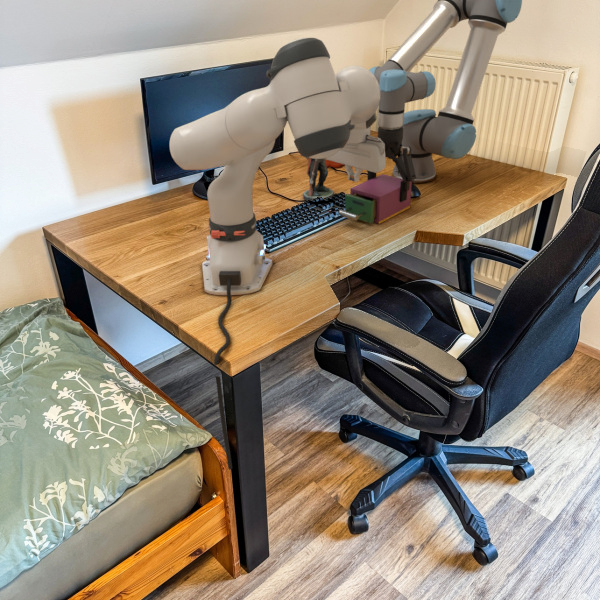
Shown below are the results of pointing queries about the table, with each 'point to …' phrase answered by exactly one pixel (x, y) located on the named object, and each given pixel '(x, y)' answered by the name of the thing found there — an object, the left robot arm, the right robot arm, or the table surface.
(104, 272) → the table surface
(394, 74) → the right robot arm
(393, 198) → the cabinet
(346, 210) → the drawer
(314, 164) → the figurine
